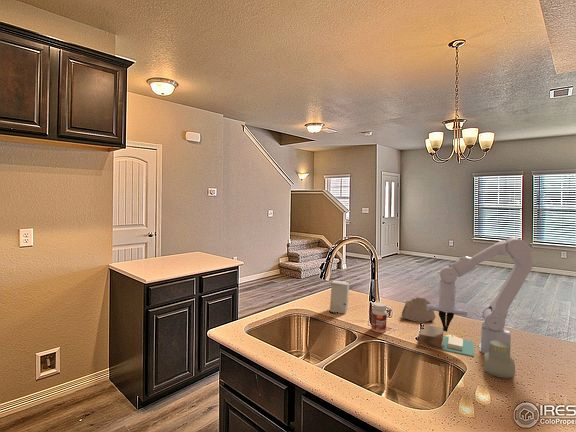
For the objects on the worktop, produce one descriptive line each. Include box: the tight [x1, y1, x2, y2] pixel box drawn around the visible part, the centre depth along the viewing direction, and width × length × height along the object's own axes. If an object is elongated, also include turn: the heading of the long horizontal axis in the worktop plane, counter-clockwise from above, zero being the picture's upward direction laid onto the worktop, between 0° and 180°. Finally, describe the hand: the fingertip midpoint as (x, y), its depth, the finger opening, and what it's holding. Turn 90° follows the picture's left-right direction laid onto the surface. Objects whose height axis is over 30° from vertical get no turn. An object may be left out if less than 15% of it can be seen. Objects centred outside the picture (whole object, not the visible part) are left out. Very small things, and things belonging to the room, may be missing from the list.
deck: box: [418, 324, 444, 350], centre depth 135 cm, size 8×12×4 cm, turn 152°
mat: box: [441, 335, 475, 358], centre depth 130 cm, size 10×14×1 cm
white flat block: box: [448, 335, 464, 350], centre depth 131 cm, size 5×8×2 cm, turn 152°
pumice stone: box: [401, 296, 437, 323], centre depth 159 cm, size 15×8×10 cm, turn 73°
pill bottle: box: [371, 302, 388, 333], centre depth 145 cm, size 6×6×11 cm
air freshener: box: [483, 340, 516, 379], centre depth 110 cm, size 11×8×10 cm
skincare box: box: [329, 280, 350, 315], centre depth 168 cm, size 8×6×15 cm
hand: (445, 330), depth 133 cm, fingers closed
